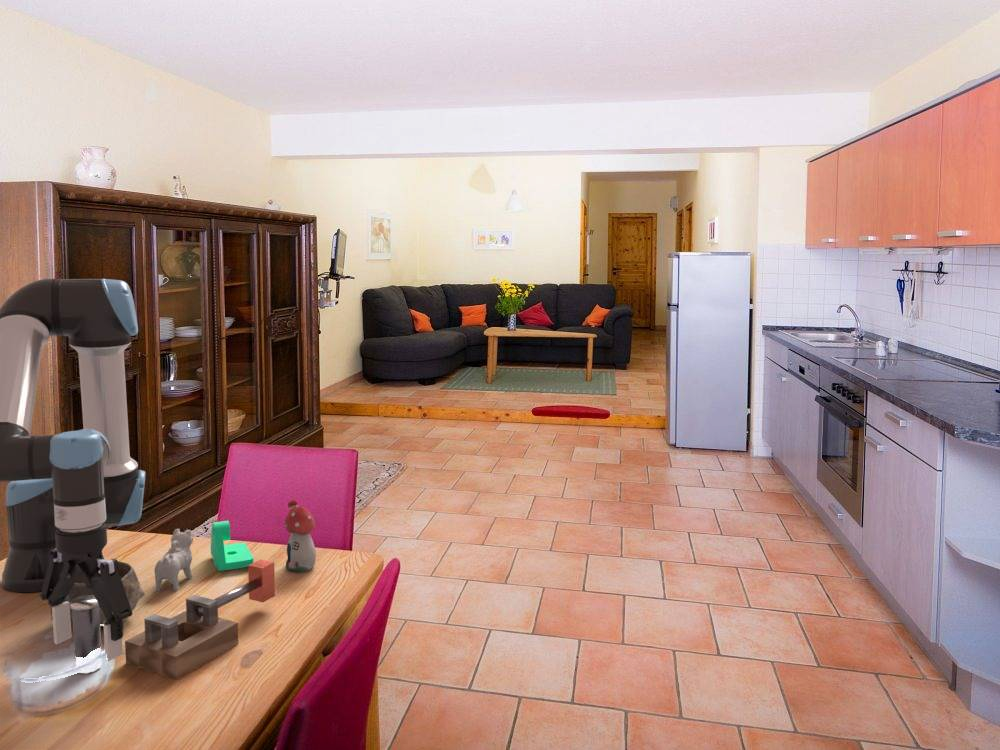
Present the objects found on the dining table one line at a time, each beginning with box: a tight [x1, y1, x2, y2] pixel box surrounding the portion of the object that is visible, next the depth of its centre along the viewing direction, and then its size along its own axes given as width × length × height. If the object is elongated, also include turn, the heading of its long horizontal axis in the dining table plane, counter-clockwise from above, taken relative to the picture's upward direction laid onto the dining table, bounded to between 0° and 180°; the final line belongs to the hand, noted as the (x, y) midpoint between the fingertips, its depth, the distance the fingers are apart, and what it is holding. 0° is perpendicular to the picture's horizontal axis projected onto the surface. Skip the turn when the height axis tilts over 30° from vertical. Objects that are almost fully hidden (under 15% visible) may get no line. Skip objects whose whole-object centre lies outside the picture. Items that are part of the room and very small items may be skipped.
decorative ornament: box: [284, 499, 317, 574], centre depth 178 cm, size 9×6×15 cm
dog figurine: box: [154, 528, 194, 592], centre depth 169 cm, size 5×13×11 cm, turn 0°
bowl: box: [63, 560, 145, 624], centre depth 150 cm, size 14×15×10 cm
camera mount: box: [210, 520, 255, 572], centre depth 180 cm, size 12×8×10 cm, turn 28°
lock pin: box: [196, 559, 276, 617], centre depth 149 cm, size 4×18×7 cm, turn 155°
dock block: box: [124, 594, 239, 680], centre depth 138 cm, size 12×14×8 cm
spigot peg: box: [70, 595, 102, 658], centre depth 132 cm, size 4×4×12 cm
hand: (88, 648), depth 133 cm, fingers open, 12 cm apart
